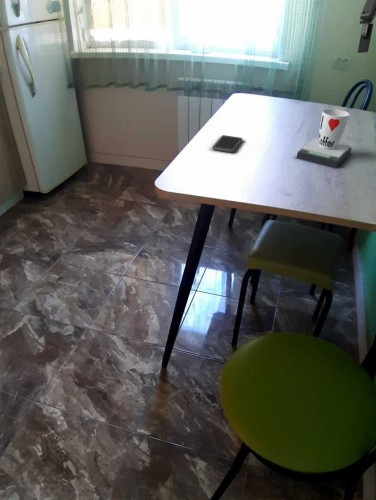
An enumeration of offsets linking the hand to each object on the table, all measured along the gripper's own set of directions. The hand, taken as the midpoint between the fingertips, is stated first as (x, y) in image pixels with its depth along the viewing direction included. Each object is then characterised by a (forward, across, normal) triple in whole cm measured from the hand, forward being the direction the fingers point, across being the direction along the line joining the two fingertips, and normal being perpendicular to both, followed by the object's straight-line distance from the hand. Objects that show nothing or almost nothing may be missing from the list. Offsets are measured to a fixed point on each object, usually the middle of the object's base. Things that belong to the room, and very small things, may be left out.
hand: (371, 56), depth 121 cm
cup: (+25, +4, -7) cm, 26 cm away
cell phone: (+26, +22, -34) cm, 48 cm away
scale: (+28, +5, -7) cm, 29 cm away
